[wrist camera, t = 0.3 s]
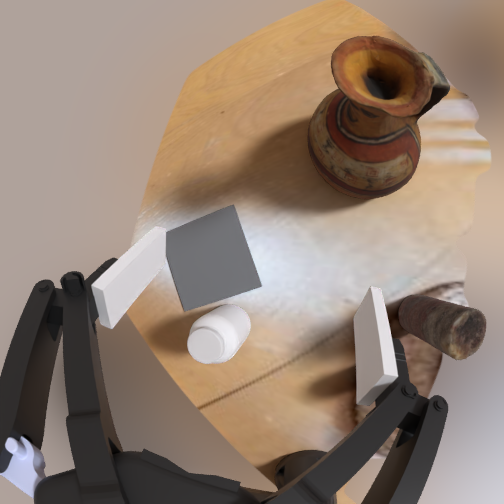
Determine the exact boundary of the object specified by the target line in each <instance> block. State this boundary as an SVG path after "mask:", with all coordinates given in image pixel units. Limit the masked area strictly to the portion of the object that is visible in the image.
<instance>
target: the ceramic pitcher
mask: <svg viewBox="0 0 504 504" xmlns="http://www.w3.org/2000/svg"><path fill="white" fill-rule="evenodd" d="M331 68H332V74H333V77H334V80H335V83H336V84H337V86H338V88H339V89H337V90H335V91H333V92H332V93H330V94H329V95H327V96H326V97H325V98H324V99H323V100H322V102H321V103H320V104H319V106H318V107H317V109H316V111H315V112H314V114H313V116H312V119H311V121H310V125H309V128H308V147H309V152H310V155H311V158H312V161H313V163H314V165H315V167H316V169H317V170H318V172H319V173H320V175H321V176H322V177H323V178H324V179H325V180H326V181H327V182H328V183H329V184H330V185H331V186H332V187H334V188H335V189H336V190H338V191H340V192H342V193H344V194H346V195H349V196H352V197H356V198H362V199H374V198H379V197H383V196H386V195H389V194H391V193H393V192H395V191H397V190H399V189H400V188H401V187H403V186H404V185H405V184H407V182H408V181H409V180H410V179H411V178H412V176H413V174H414V172H415V170H416V168H417V164H418V161H419V157H420V152H421V137H420V131H419V128H418V125H417V121H418V119H419V118H420V117H421V116H422V115H423V114H425V113H426V112H427V111H428V110H430V109H431V108H432V107H433V106H434V105H436V104H437V103H439V102H440V100H441V99H442V98H443V97H444V96H446V95H447V94H448V92H449V90H450V85H449V83H448V81H447V79H446V77H445V76H444V74H443V72H442V71H441V69H440V68H439V66H438V65H437V64H436V63H435V62H434V60H433V59H432V58H431V57H430V56H428V55H426V54H425V53H417V52H414V51H412V50H410V49H408V48H407V47H405V46H403V45H401V44H399V43H397V42H395V41H393V40H390V39H388V38H384V37H380V36H372V37H370V36H357V37H354V38H351V39H348V40H346V41H344V42H343V43H341V44H340V45H339V46H338V47H337V48H336V49H335V51H334V52H333V54H332V60H331Z"/></svg>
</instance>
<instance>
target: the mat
mask: <svg viewBox="0 0 504 504" xmlns="http://www.w3.org/2000/svg"><path fill="white" fill-rule="evenodd" d="M166 255H167V258H168V262H169V265H170V268H171V271H172V275H173V278H174V281H175V284H176V287H177V290H178V293H179V296H180V299H181V302H182V305H183V308H184V311H188V310H191V309H194V308H197V307H201V306H204V305H207V304H210V303H213V302H216V301H219V300H222V299H225V298H228V297H232V296H235V295H238V294H241V293H244V292H247V291H250V290H253V289H255V288H258V287H261V286H262V285H261V282H260V279H259V276H258V273H257V271H256V268H255V265H254V262H253V259H252V256H251V253H250V250H249V247H248V245H247V242H246V239H245V236H244V233H243V230H242V227H241V224H240V222H239V219H238V216H237V213H236V210H235V207H234V205H231V206H228V207H226V208H223V209H221V210H218V211H216V212H214V213H211V214H209V215H206V216H204V217H201V218H199V219H196V220H194V221H192V222H189V223H187V224H185V225H182V226H180V227H178V228H175V229H173V230H171V231H168V232H166Z"/></svg>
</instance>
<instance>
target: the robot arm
mask: <svg viewBox="0 0 504 504" xmlns="http://www.w3.org/2000/svg"><path fill="white" fill-rule="evenodd" d="M165 259H166V229H165V228H162V227H158V226H155V227H154V228H153V229H152V230H151V231H149V232H148V233H147V234H146V235H145V236H144V237H142V238H141V239H140V240H139V241H138V242H137V243H136V244H135V245H133V246H132V247H131V248H130V249H129V250H128V251H127V252H126V253H125V254H124V255H122V256H121V257H120V258H119V259H116V258H112V259H110V260H107V261H105V262H104V263H103V264H102V265H101V266H100V267H99V268H98V269H97V270H96V271H95V272H93V273H92V274H91V275H90V276H89V277H88V278H87V279H86V280H84V276H83V274H81V273H80V272H77V271H72V272H68V273H67V274H65V275H64V276H63V277H62V278H61V280H60V282H61V285H62V289H58V288H55V286H54V283H53V282H52V281H51V280H42V281H39V282H38V283H36V285H35V286H34V288H33V290H32V292H31V294H30V297H29V299H28V301H27V303H26V306H25V308H24V310H23V313H22V315H21V318H20V320H19V323H18V325H17V328H16V330H15V333H14V336H13V339H12V341H11V344H10V347H9V350H8V353H7V356H6V359H5V363H4V366H3V369H2V373H1V376H0V475H1V476H4V477H5V478H7V479H8V480H9V481H10V482H12V483H13V484H14V485H16V486H17V487H18V488H19V489H21V490H22V491H24V492H25V493H26V494H28V495H29V496H30V497H32V498H33V499H34V504H337V497H336V492H337V491H338V490H339V489H340V488H341V487H342V486H343V485H345V484H346V483H347V482H348V481H349V480H350V479H351V478H352V477H353V476H354V475H355V474H356V473H357V472H358V471H359V470H360V469H361V468H362V467H363V466H364V465H365V463H366V462H367V461H368V460H369V459H370V458H371V457H372V456H373V455H374V454H375V453H376V451H377V450H378V449H379V448H380V447H381V446H382V445H383V443H384V442H385V441H386V440H387V439H388V437H389V436H390V435H391V434H392V432H393V431H394V430H395V429H396V427H397V428H400V429H399V432H398V434H397V436H396V438H395V441H394V443H393V445H392V447H391V449H390V452H389V454H388V456H387V458H386V460H385V462H384V464H383V466H382V468H381V470H380V472H379V474H378V475H377V477H376V479H375V481H374V483H373V485H372V486H371V488H370V490H369V492H368V493H367V495H366V496H365V498H364V500H363V502H362V503H361V504H417V502H418V500H419V498H420V496H421V494H422V491H423V489H424V486H425V484H426V481H427V479H428V476H429V474H430V471H431V468H432V465H433V462H434V459H435V456H436V453H437V450H438V447H439V444H440V440H441V437H442V433H443V429H444V425H445V422H446V417H447V413H448V404H447V402H446V400H445V399H444V398H443V397H441V396H439V395H435V396H433V397H432V398H430V399H427V398H425V397H423V396H421V395H419V394H418V391H417V388H416V387H415V386H414V385H413V384H412V383H410V380H409V374H408V368H407V363H406V358H405V356H404V355H405V353H404V348H403V345H402V344H401V342H400V340H399V339H395V338H392V337H391V331H390V326H389V321H388V317H387V312H386V307H385V303H384V299H383V294H382V290H381V289H379V288H376V287H372V286H370V288H369V290H368V292H367V294H366V296H365V297H364V299H363V301H362V303H361V305H360V307H359V309H358V310H357V312H356V314H355V316H354V318H353V320H354V334H355V352H356V382H357V404H360V405H367V406H370V405H371V404H372V403H373V402H374V401H375V402H376V407H375V408H374V409H373V410H372V411H371V412H369V413H368V414H367V415H366V417H365V418H364V419H363V420H362V421H361V422H360V423H359V424H358V425H357V426H356V427H355V428H354V429H353V430H352V431H351V432H350V433H349V434H348V435H347V436H346V437H345V438H344V439H342V440H341V441H340V442H339V443H338V444H337V445H336V446H335V447H334V448H332V449H331V450H330V451H329V452H328V453H327V452H323V451H317V450H307V451H301V452H297V453H294V454H291V455H289V456H287V457H286V458H284V459H283V460H282V461H281V462H280V463H279V464H278V465H277V467H276V471H275V483H276V486H277V488H278V491H276V492H275V493H274V492H268V491H262V490H256V489H251V488H246V487H241V486H240V482H238V481H234V480H230V479H227V478H223V477H219V476H216V475H203V474H193V473H188V472H186V471H185V470H183V469H182V468H180V467H178V466H177V465H175V464H174V463H172V462H171V461H169V460H168V459H166V458H164V457H162V456H159V455H157V454H154V453H152V452H150V451H148V450H146V449H143V451H142V452H136V451H127V452H123V449H122V447H121V444H120V441H119V439H118V437H117V434H116V431H115V427H114V424H113V420H112V416H111V411H110V408H109V403H108V398H107V394H106V389H105V384H104V379H103V373H102V367H101V361H100V354H99V348H98V339H97V331H96V324H95V321H96V319H97V318H98V317H99V319H100V323H101V325H104V326H106V327H108V328H110V329H112V328H113V327H114V326H115V325H116V323H117V322H118V321H119V319H120V318H121V317H122V316H123V314H124V313H125V312H126V311H127V310H128V308H129V307H130V306H131V305H132V303H133V302H134V301H135V300H136V299H137V297H138V296H139V295H140V294H141V292H142V291H143V290H144V289H145V288H146V286H147V285H148V284H149V283H150V282H151V280H152V279H153V278H154V277H155V276H156V275H157V273H158V272H159V271H160V270H161V269H162V268H163V266H164V265H165ZM62 332H63V357H64V374H65V386H66V394H67V403H68V410H69V416H67V418H66V425H67V431H68V436H69V442H70V447H71V451H72V455H73V460H74V464H75V469H72V470H69V471H66V472H62V473H59V474H56V475H52V476H48V477H46V476H45V474H44V468H45V462H44V457H43V454H42V453H41V451H40V450H41V446H42V442H43V436H44V427H45V419H46V410H47V403H48V397H49V390H50V385H51V379H52V374H53V369H54V364H55V360H56V355H57V351H58V347H59V343H60V339H61V335H62Z"/></svg>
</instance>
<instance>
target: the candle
mask: <svg viewBox="0 0 504 504" xmlns="http://www.w3.org/2000/svg"><path fill="white" fill-rule="evenodd" d="M399 322H400V324H401V326H402V327H403V328H404V329H405V330H406V331H408V332H409V333H411V334H413V335H414V336H416V337H418V338H420V339H422V340H423V341H425V342H427V343H429V344H430V345H432V346H433V347H435V348H437V349H438V350H440V351H442V352H443V353H445V354H447V355H449V356H450V357H452V358H454V359H455V360H462V359H466V358H467V357H468V356H470V355H472V354H473V353H475V352H476V351H477V350H478V349H479V347H480V346H481V344H482V342H483V338H484V336H485V332H486V319H485V316H484V314H483V313H482V312H480V311H479V310H477V309H473V308H469V307H465V306H461V305H457V304H454V303H450V302H446V301H442V300H439V299H435V298H432V297H428V296H424V295H418V294H416V295H410V296H408V297H407V298H405V299H404V301H403V302H402V304H401V305H400V308H399Z"/></svg>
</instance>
